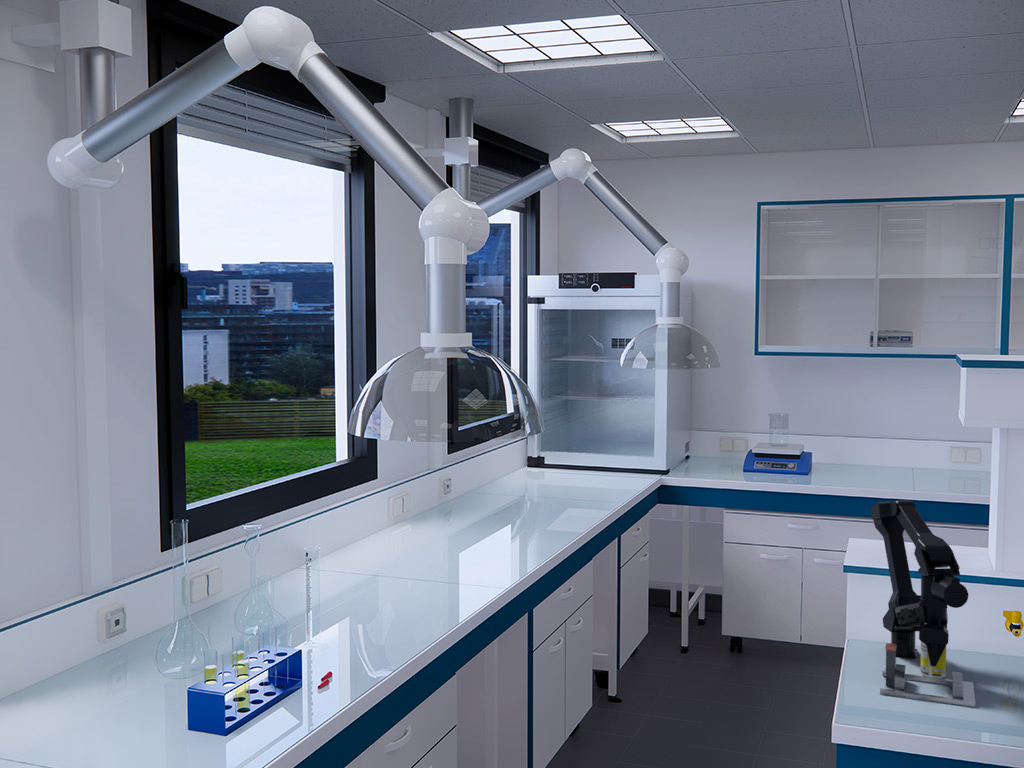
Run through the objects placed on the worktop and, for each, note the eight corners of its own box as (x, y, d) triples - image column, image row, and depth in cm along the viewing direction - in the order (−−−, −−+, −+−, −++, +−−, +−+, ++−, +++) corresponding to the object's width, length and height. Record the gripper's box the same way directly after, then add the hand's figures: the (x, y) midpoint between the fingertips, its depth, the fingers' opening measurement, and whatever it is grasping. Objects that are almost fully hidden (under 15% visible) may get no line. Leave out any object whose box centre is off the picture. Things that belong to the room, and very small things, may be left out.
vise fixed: (882, 674, 222) (882, 660, 222) (973, 686, 214) (973, 671, 214) (879, 693, 210) (880, 678, 210) (975, 707, 202) (975, 691, 202)
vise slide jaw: (886, 677, 220) (886, 638, 219) (905, 679, 218) (905, 640, 218) (884, 690, 211) (884, 650, 211) (904, 693, 210) (904, 652, 209)
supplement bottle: (949, 675, 222) (949, 632, 221) (941, 681, 218) (941, 638, 217) (925, 669, 225) (925, 628, 225) (916, 675, 221) (917, 633, 221)
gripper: (898, 583, 232) (898, 644, 233) (896, 602, 216) (895, 668, 216) (947, 587, 228) (946, 650, 229) (948, 607, 211) (948, 675, 212)
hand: (933, 660), depth 221 cm, fingers open, 8 cm apart
